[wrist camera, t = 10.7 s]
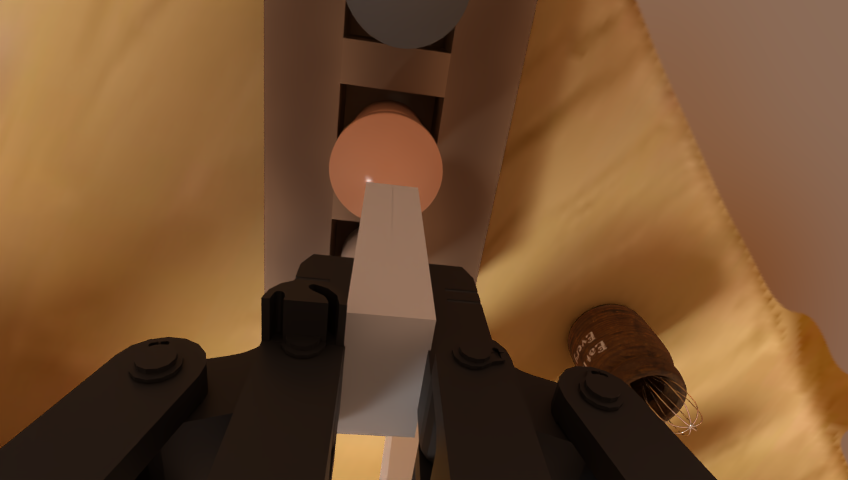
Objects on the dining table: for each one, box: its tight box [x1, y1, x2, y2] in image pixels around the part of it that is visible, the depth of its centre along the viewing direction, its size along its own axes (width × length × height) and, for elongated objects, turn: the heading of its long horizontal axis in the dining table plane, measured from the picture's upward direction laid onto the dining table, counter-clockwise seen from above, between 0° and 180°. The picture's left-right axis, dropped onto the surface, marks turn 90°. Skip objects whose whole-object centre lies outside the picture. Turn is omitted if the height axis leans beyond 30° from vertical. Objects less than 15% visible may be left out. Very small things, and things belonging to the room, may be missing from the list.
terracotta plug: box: [329, 100, 443, 218], centre depth 22 cm, size 5×5×6 cm
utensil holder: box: [568, 305, 703, 436], centre depth 31 cm, size 6×6×12 cm
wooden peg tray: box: [264, 0, 537, 293], centre depth 26 cm, size 12×22×5 cm, turn 172°
